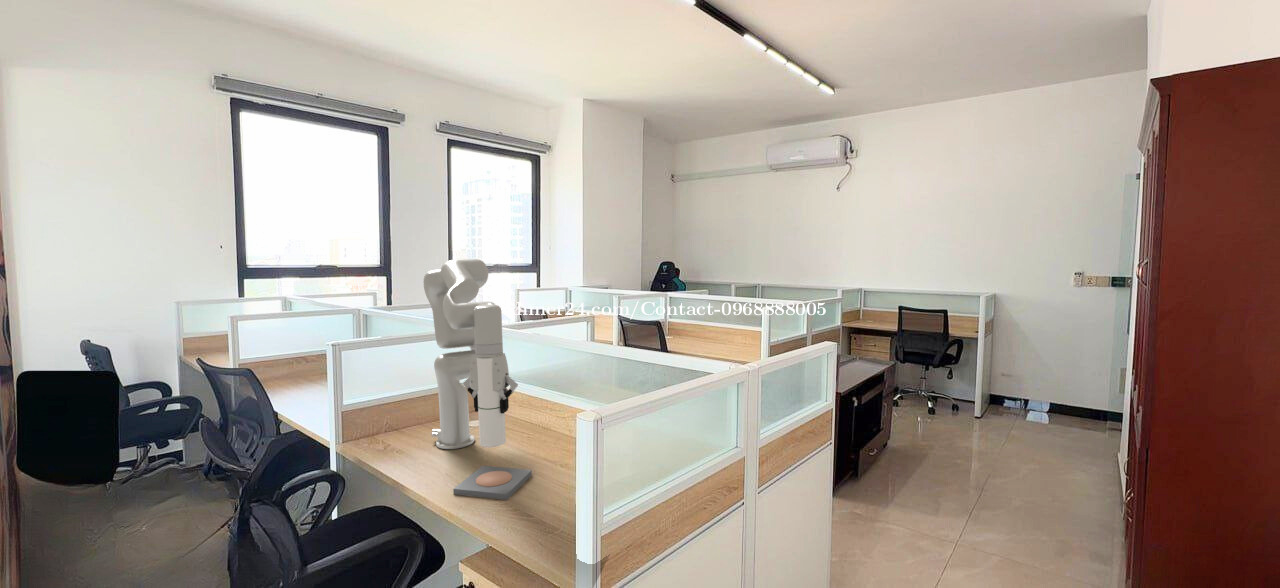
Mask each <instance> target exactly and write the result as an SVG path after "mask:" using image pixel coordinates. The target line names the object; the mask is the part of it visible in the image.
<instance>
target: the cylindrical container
mask: <svg viewBox="0 0 1280 588" xmlns="http://www.w3.org/2000/svg"><path fill="white" fill-rule="evenodd" d="M492 362H493V358H478V357H477V371H478V390H477V392H478V412H477V413H478V432H479V433H478V435H479V446H480V447H482V448H497V447H500V446H503V445H504V444H506V441H507V437H506V412H505V413H500V400H501V399H502V397H501V396H500V394H499V391H493V382H492Z"/></svg>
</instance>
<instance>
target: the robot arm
mask: <svg viewBox="0 0 1280 588" xmlns="http://www.w3.org/2000/svg"><path fill="white" fill-rule="evenodd" d="M488 279H489V269H488V266H487V265H486V263H485V262H484V261H483V260H481V259H478V258H474V259H473V258H471V259H470V258H469V259H465V258H464V259H451V260H447V261H446V262H444V264H442V266H441V268H439V269H433V270H429V271H428V272H427V273H425V274H424V276H423V288H424V293H425V296H426V299H427V301H428V303H429V304H430V307H431V311H432V315H433V316H432V318H433V326H434V335H435V341H436V345H437V346H438V347H439V348H440V349H446V350H448V349H458V348H468V347H469V350H463V351H462V350H459V351H452V352H445V353H442V354H440V355H438V356H437V357H436V358H435V360H434V362H433V363H434V364H433V365H434V366H433V368H434V369H433V370H434V372H435V378H436V384H437V391H438V392H437V393H438V394H437V395H438V407H439V408H438V410H439V429H438V428H433V429H432V430H431V434H430V435H431V437H434V438H436V437H437V440H436V442H435V445H436V447H437V448H439V449H441V450H442V449H443V450H459V449H462V448H466V447H468V446H471V445H472V444H473V443H474V442H475V439H476V438H475V436H474V435H472V434H471V433H470V432H471V431H470V413H469V411H470V410H469V394H470V395H471V397H472V398H473V408H474V412H475V413H478V392H477V390H478V371H477V357H478V358H493V362H492V382H493V391H499V394H500V396H501V397H502V399H501V400H500V413H505V414H506V413H507V411H508V410H509V408H510V404H509V403H510V402H509V397H511V395H512V394H513V393H514V392H515V390H516V389H517V388H518V386H519V384H518V383H517V382H516V381H515V380H514V379H513V378H511V377H510V371H509V365H508V360H507V356H506V353H505V352H504V346H503V344H504V342H503V321H502V319H503V318H502V315H503V314H502V309H501V308H502V307H501V306H499V305H497V304H496V303H494V302H493V301H474V299H475V298H477V296H478V294H479V290H480V289H481V288H482V287H483V286H485V284H486V283H487V282H488ZM471 301H472V302H471ZM473 301H474V302H473ZM462 380H464V381H463V383H461V382H460V381H462ZM509 386H510V387H509ZM507 387H509V388H507Z"/></svg>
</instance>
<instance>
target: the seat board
mask: <svg viewBox="0 0 1280 588" xmlns="http://www.w3.org/2000/svg"><path fill="white" fill-rule="evenodd" d="M532 471H533V470H532V469H526V468H514V467H513V468H512V467H502V466H491V465H481V466H480V467H479V468H477V470H475V471H474V472H473V473H471V474H470V475H469V476H468V477H466V478H465V479H464V480H463V481H461V482H460V483H458V485H456V486H454V487H453V489H452V490H453V495H456V496H467V497H473V498H474V497H475V498H484V499H495V500H503V501H508V500H509V498H510V497H512V495H514V494H515V492H516V491H518V490H519V489H520V488H519V487H522V486H523V485H524V484H525V483H526V482H527V481H528V480H529V479H530V478H531V477H532V476H533V472H532Z"/></svg>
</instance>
